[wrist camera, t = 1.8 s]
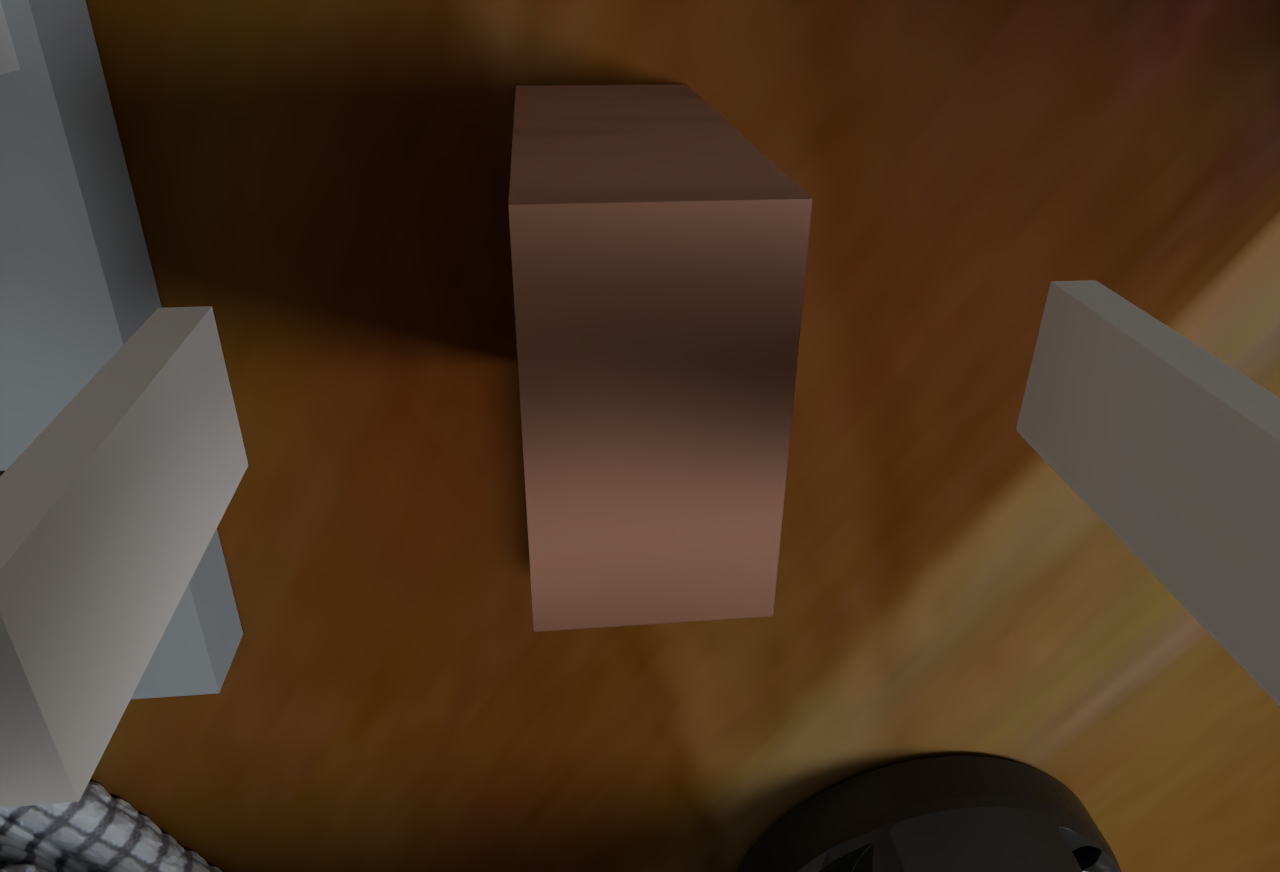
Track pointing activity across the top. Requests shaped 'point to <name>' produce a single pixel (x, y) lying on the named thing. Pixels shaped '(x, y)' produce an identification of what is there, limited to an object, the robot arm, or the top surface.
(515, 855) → the top surface
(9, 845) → the towel
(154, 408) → the robot arm
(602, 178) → the brown blocky piece
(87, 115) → the board
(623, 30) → the top surface
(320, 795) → the top surface
